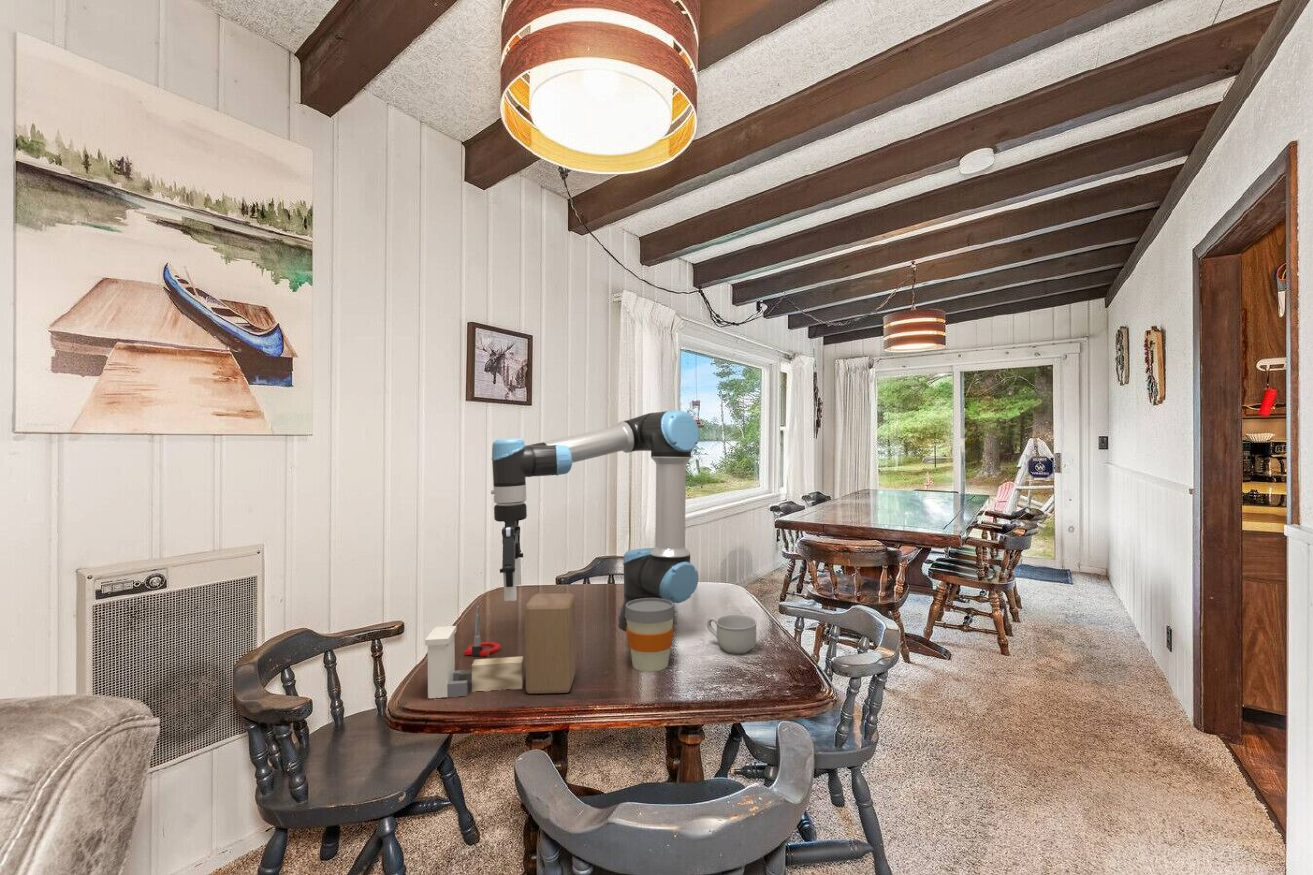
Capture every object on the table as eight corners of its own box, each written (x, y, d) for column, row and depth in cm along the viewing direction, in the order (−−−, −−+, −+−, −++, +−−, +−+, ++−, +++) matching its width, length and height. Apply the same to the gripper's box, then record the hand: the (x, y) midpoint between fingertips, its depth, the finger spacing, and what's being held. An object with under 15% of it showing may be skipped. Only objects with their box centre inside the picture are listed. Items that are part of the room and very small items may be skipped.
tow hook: (476, 645, 157) (460, 656, 148) (477, 598, 158) (461, 606, 148) (505, 646, 156) (490, 657, 146) (506, 599, 156) (491, 607, 147)
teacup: (764, 649, 150) (764, 619, 150) (741, 661, 142) (741, 629, 142) (722, 637, 159) (722, 609, 159) (698, 647, 151) (698, 618, 152)
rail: (523, 681, 131) (523, 656, 131) (522, 688, 127) (521, 662, 127) (461, 686, 129) (461, 660, 129) (458, 693, 125) (457, 666, 125)
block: (575, 675, 134) (574, 592, 134) (570, 694, 124) (569, 603, 124) (533, 676, 134) (533, 592, 134) (524, 695, 124) (524, 604, 124)
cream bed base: (472, 681, 132) (472, 624, 132) (465, 697, 123) (465, 637, 123) (435, 683, 131) (435, 626, 131) (425, 700, 122) (425, 639, 122)
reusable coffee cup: (618, 659, 144) (617, 601, 144) (663, 652, 149) (662, 595, 149) (636, 678, 132) (635, 614, 132) (684, 669, 137) (683, 607, 137)
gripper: (499, 498, 145) (502, 580, 145) (486, 510, 121) (490, 609, 121) (529, 497, 147) (532, 578, 147) (522, 508, 122) (525, 606, 122)
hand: (513, 592), depth 134 cm, fingers open, 13 cm apart
